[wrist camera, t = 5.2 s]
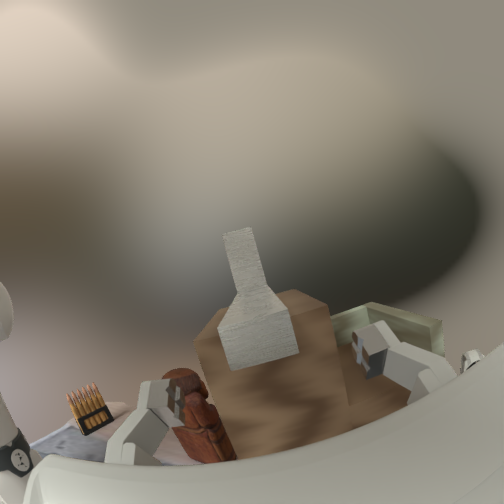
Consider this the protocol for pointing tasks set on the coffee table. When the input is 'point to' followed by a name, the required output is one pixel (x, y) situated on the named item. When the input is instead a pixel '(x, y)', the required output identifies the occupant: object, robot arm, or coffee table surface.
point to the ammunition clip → (90, 411)
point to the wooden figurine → (200, 421)
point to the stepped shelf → (309, 377)
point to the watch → (470, 359)
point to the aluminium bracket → (253, 310)
